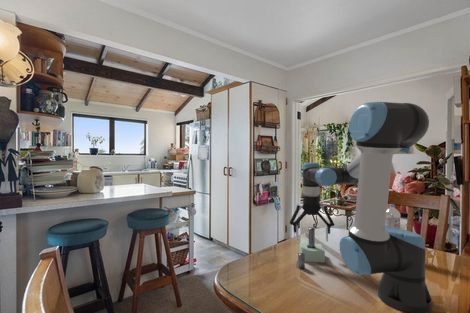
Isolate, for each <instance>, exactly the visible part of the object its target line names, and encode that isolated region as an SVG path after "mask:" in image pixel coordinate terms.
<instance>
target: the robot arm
mask: <svg viewBox="0 0 470 313" xmlns="http://www.w3.org/2000/svg"><path fill="white" fill-rule="evenodd" d="M429 126H430V119H429V116H428V114H427V112H426V111H425V109H424V108H422V107H421V106H419V105H417V104H415V103H411V102H387V101H373V102H372V101H371V102H370V101H369V102H365V103H363V104H361V105H359V106H358V107H357V108H356V110H355V111H354V112H353V114H352V115H351V116H350V120H349V125H348V131H349V134H350V137H351V139H352V140H353V141H355V142H356V144H355V147H356V148H357V149H358V150H359V151H360V154H359V155H358V156H356V157H355V158H353V160H351V161H350V162H349V163H348V164H347V165H345V166H343V167H342V166H341V167H320V163H319V162H304V163H303V164H302V167H303V168H302V188H303V189H302V191H303V192H302V194H303V195H302V200H303V201H302V205H299V204H296V207H295V211H294V212H293V215H292V216H291V218H290V221H289V224H290V225H292V226H293V233H295V240H296V241H299V225H298V224H299V223H300V222H301V221H302V220H303V218H305V217H306V216H307V215H308V216H311V215H312V216H316V215H317V216H318V217H319V218H320V219H321V220H322V222H323V223H324V224H325V226H324V239H325V241H326V242H329V235H330V234H331V227H334V226H335V223H334V221H333V219H332V217H331V215H330V213H329V211H328V207H327V205H325V204H324V205H320V204H321V199H320V197H321V196H320V195H321V193H320V192H321V191H320V188H321V187H320V186H322V187H323V186H324V187H329V186H330V187H331V186H333V185H338V186H339V185H357V191H356V192H357V193H356V204H355V213H354V214H355V216H354V223H353V224H352V225H350V226H349V227H348V234H347V235H345V236H343V237H342V238H340V241H339V251H340V255H341V259H342V260H343V262H344V264H345V266H346V267H347V268H348V269H349V270H350V272H352V273H353V274H355V275H358V276H359V275H360V276H362V275H366V276H370V275H373V274H374V275H375V274H382V275H381V278H380V279H379V283H378V285H377V296H378V298H379V299H380V300H381V301H382V302H384V303H385V304H386V305H388V306H390V307H392V308H393V309H396V310H398V311H402V312H405V313H430V312H432V310H433V300H432V296H431V294H430V290H429V289H428V286H427V283H426V250H427V248H426V245H425V244H426V242H425V238H424V237H423V236H422V235H421V234H419V233H416V232H413V231H410V230H406V229H403V228H402V229H401V228H400V229H397V228H389V227H386V228H385V223H386V213H387V209H388V201H389V195H390V194H389V192H390V183H391V175H392V174H391V173H392V167H393V165H392V164H393V156H394V155H395V154H397V153H398V152H400V151H401V150H403V149H404V150H407V149H409V148H411V147H412V146H414V145H416V144H417V143H418V142H419V141H420V140H422V139H423V137H424V136H425V135H426V133H428V129H429ZM300 210H303V211H302V212H301V214H299V212H300ZM321 210H322V212H324V214H325V216H326V218H327V219H328V220H326V219H325V217H324V215H322V213H321V212H320V211H321ZM298 214H299V216H298V217H297V215H298ZM295 219H296V220H295Z"/></svg>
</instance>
